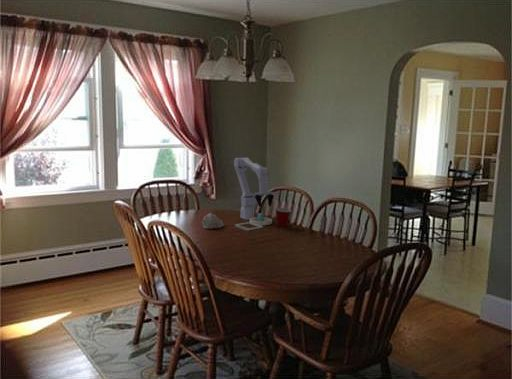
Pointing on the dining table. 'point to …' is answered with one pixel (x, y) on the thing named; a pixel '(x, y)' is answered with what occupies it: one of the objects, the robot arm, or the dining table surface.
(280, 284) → the dining table surface
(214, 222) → the seashell
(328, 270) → the dining table surface
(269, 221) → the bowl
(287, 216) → the plastic cup
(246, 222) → the tray
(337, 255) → the dining table surface
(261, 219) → the cylinder
